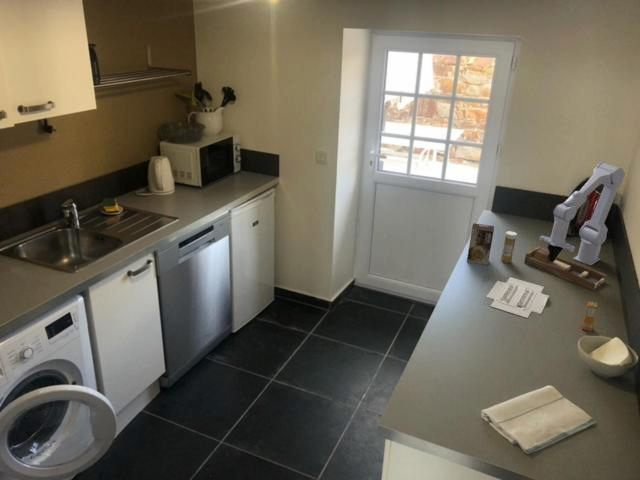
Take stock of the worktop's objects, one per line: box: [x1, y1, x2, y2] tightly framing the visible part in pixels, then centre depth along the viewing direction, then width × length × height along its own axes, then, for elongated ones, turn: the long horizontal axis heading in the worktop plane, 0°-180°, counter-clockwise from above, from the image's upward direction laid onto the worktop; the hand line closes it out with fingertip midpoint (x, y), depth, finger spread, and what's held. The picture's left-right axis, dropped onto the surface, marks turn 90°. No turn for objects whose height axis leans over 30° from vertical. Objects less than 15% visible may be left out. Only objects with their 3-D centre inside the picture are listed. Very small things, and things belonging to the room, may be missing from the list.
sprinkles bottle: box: [500, 230, 518, 264], centre depth 232 cm, size 5×5×13 cm
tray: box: [486, 277, 550, 319], centre depth 206 cm, size 20×28×4 cm
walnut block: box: [535, 247, 550, 263], centre depth 232 cm, size 5×5×4 cm
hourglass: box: [581, 301, 598, 332], centre depth 186 cm, size 3×3×10 cm
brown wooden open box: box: [523, 246, 607, 291], centre depth 226 cm, size 11×30×4 cm, turn 42°
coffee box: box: [466, 223, 495, 266], centre depth 231 cm, size 9×6×16 cm
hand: (552, 260), depth 230 cm, fingers closed
